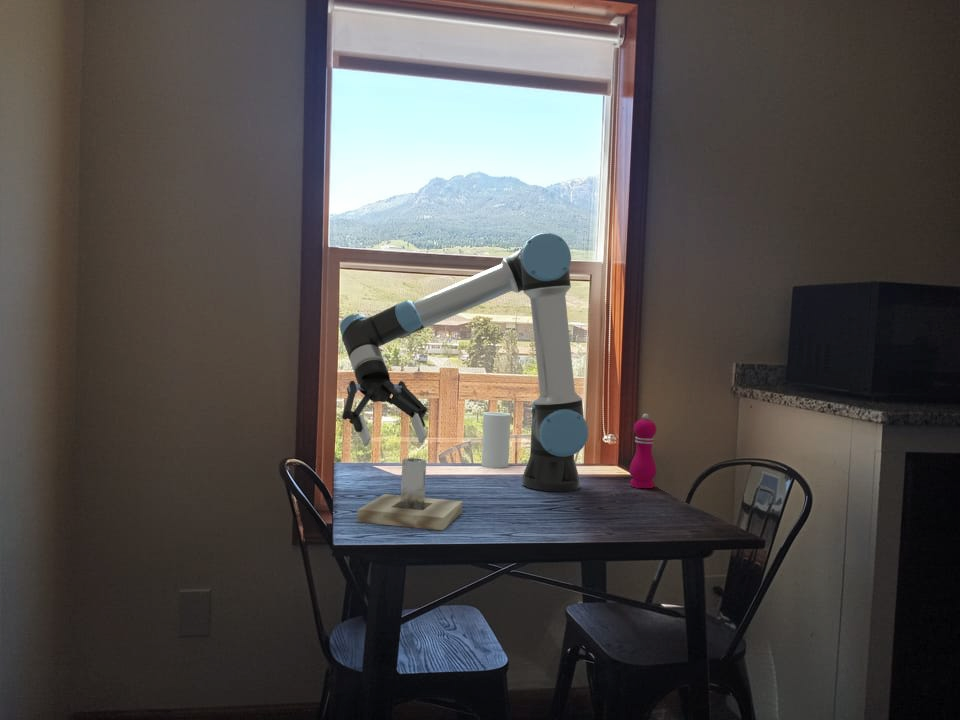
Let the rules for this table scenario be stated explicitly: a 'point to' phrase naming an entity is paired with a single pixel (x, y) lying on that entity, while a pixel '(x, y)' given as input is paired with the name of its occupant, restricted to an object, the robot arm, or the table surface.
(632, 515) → the table surface
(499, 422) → the cup
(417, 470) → the tall grey pillar
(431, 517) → the frame
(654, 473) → the pepper mill
